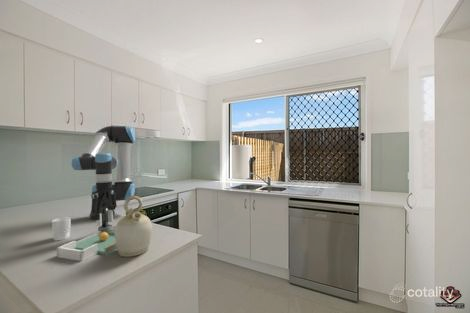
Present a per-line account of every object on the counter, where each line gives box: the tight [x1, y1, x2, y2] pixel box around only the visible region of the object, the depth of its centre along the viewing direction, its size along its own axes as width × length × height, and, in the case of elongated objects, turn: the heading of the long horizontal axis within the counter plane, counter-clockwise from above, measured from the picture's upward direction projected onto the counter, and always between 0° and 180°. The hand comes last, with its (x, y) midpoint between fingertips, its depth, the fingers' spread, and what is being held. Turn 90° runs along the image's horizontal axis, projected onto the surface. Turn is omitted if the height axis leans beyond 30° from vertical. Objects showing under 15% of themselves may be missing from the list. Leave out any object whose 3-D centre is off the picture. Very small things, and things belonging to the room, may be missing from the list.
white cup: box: [51, 216, 72, 241], centre depth 112 cm, size 8×8×10 cm
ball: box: [99, 232, 108, 241], centre depth 106 cm, size 4×4×4 cm
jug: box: [114, 195, 153, 258], centre depth 97 cm, size 15×16×25 cm
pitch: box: [75, 231, 118, 255], centre depth 108 cm, size 22×24×3 cm
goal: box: [56, 240, 99, 262], centre depth 93 cm, size 8×14×4 cm, turn 74°
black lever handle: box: [97, 207, 116, 232], centre depth 116 cm, size 5×14×12 cm, turn 74°
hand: (104, 223), depth 117 cm, fingers open, 6 cm apart
